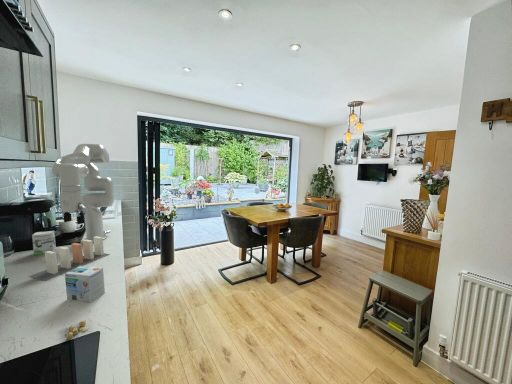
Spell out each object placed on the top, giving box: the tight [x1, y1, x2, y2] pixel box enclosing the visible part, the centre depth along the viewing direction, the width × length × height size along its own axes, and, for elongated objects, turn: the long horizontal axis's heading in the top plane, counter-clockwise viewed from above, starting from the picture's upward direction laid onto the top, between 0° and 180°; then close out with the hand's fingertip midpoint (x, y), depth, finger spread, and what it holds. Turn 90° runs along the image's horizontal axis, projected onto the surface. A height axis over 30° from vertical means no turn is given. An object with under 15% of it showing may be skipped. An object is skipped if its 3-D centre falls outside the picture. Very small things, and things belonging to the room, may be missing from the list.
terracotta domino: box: [70, 242, 84, 264], centre depth 111 cm, size 2×5×10 cm, turn 72°
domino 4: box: [93, 236, 105, 255], centre depth 121 cm, size 2×5×10 cm, turn 72°
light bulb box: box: [64, 265, 106, 303], centre depth 84 cm, size 11×7×11 cm, turn 82°
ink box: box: [31, 230, 57, 256], centre depth 124 cm, size 9×5×12 cm, turn 120°
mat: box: [27, 251, 111, 282], centre depth 110 cm, size 30×12×1 cm, turn 162°
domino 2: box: [58, 246, 72, 269], centre depth 106 cm, size 2×5×10 cm, turn 72°
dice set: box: [65, 320, 88, 341], centre depth 67 cm, size 5×5×2 cm
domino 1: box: [44, 251, 58, 274], centre depth 101 cm, size 2×5×10 cm, turn 72°
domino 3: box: [82, 239, 94, 259], centre depth 116 cm, size 2×5×10 cm, turn 72°
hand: (74, 222), depth 109 cm, fingers open, 9 cm apart
